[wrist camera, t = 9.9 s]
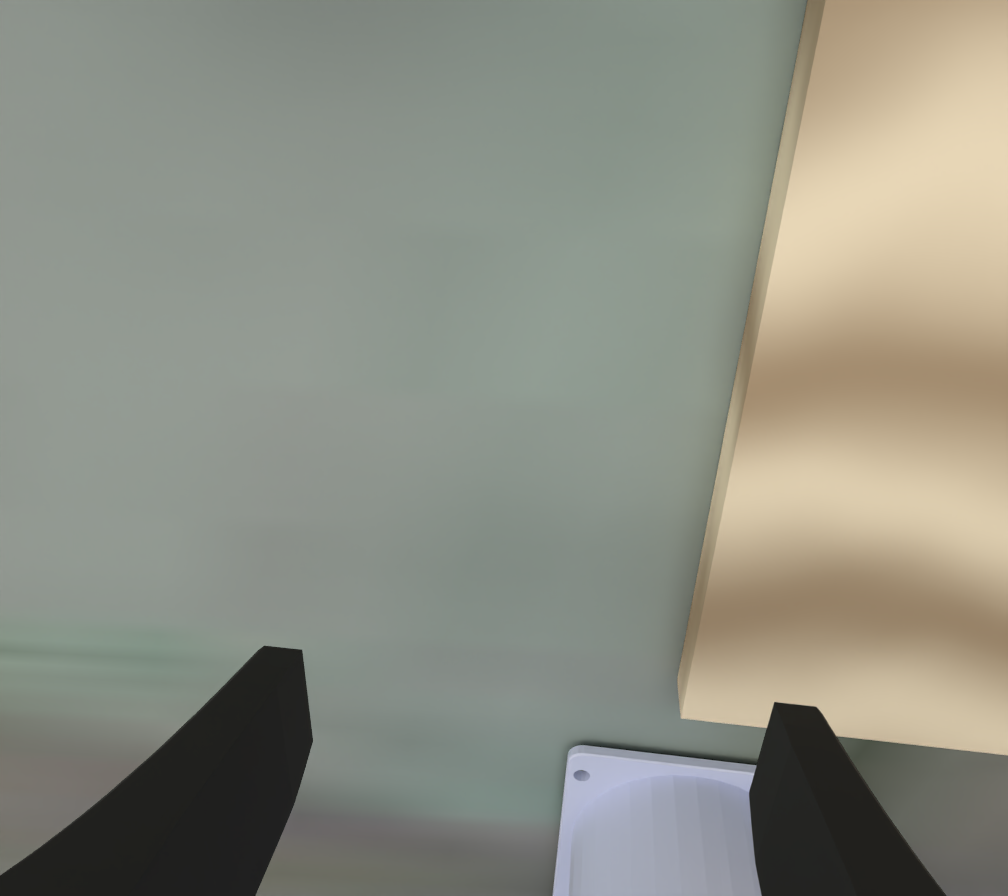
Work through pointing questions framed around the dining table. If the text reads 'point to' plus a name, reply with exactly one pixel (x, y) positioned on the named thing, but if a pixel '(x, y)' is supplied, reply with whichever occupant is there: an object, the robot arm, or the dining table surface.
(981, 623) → the birch board
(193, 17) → the dining table surface
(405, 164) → the dining table surface
